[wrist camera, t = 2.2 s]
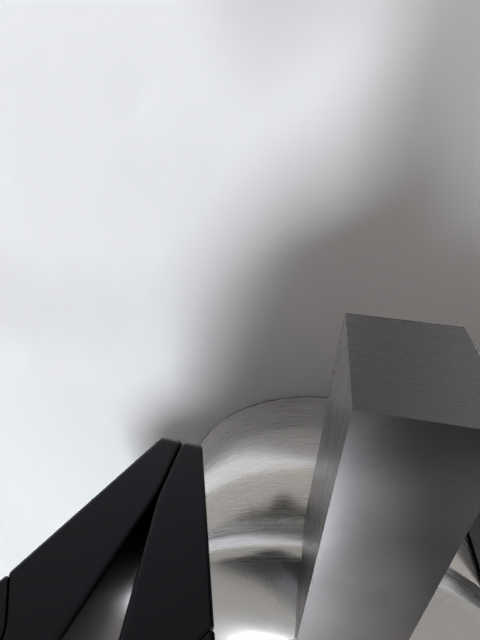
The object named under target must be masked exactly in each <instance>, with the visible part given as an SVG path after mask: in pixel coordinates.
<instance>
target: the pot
mask: <svg viewBox="0 0 480 640" xmlns="http://www.w3.org/2000/svg"><path fill="white" fill-rule="evenodd" d="M328 399H329V398H320V397H295V398H285V399H277V400H273V401H268V402H263V403H260V404H257V405H254V406H251V407H248V408H245V409H243V410H241V411H239V412H237V413H235V414H233V415H231V416H229V417H228V418H226V419H225V420H223V421H222V422H220V423H219V424H218V425H217V426H216V427H215V428H213V429H212V430H211V431H210V432H209V433H208V435H207V436H206V437H205V439H204V440H203V441H202V443H201V445H200V446H201V447H202V449H203V463H204V478H205V494H206V509H207V525H208V531H213V530H218V529H222V528H227V527H234V526H244V525H253V524H293V525H304V520H305V515H306V510H307V505H308V500H309V494H310V489H311V484H312V479H313V474H314V469H315V464H316V459H317V454H318V449H319V444H320V439H321V434H322V429H323V424H324V419H325V414H326V409H327V404H328ZM449 568H451V569H453V570H455V571H457V572H458V573H460V574H461V575H463V576H464V577H466V578H467V579H469V580H470V581H472V582H473V583H475V584H476V585H477V586H478V587H480V511H479V513H478V515H477V517H476V518H475V520H474V522H473V524H472V526H471V528H470V529H469V531H468V533H467V535H466V537H465V539H464V540H463V542H462V544H461V546H460V548H459V549H458V551H457V553H456V555H455V557H454V559H453V560H452V562H451V564H450V566H449Z"/></svg>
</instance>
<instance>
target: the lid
mask: <svg viewBox="0 0 480 640" xmlns="http://www.w3.org/2000/svg"><path fill="white" fill-rule="evenodd" d="M479 511H480V357H479V355H478V353H477V351H476V349H475V347H474V345H473V343H472V342H471V340H470V338H469V336H468V334H467V332H466V330H465V328H464V327H456V326H448V325H440V324H431V323H423V322H415V321H407V320H398V319H390V318H382V317H374V316H365V315H357V314H349V313H345V318H344V323H343V328H342V333H341V338H340V343H339V348H338V353H337V358H336V363H335V368H334V373H333V378H332V383H331V388H330V394H329V399H328V404H327V409H326V414H325V419H324V424H323V429H322V434H321V439H320V444H319V449H318V454H317V459H316V464H315V469H314V474H313V479H312V484H311V489H310V494H309V500H308V505H307V510H306V515H305V520H304V525H293V524H253V525H244V526H234V527H227V528H222V529H218V530H213V531H208V540H209V556H210V571H211V587H212V602H213V618H214V630H213V632H214V633H215V640H480V587H478V586H477V585H476V584H475V583H473V582H472V581H470V580H469V579H467V578H466V577H464V576H463V575H461V574H460V573H458V572H457V571H455V570H453V569H451V568H449V566H450V564H451V562H452V560H453V559H454V557H455V555H456V553H457V551H458V549H459V548H460V546H461V544H462V542H463V540H464V539H465V537H466V535H467V533H468V531H469V529H470V528H471V526H472V524H473V522H474V520H475V518H476V517H477V515H478V513H479Z"/></svg>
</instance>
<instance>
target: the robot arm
mask: <svg viewBox="0 0 480 640" xmlns="http://www.w3.org/2000/svg"><path fill="white" fill-rule="evenodd" d="M213 630H214V618H213V602H212V587H211V571H210V556H209V540H208V525H207V509H206V494H205V478H204V463H203V449H202V447H201V446H200V445H196V444H191V443H187V442H185V443H183V444H182V443H181V442H180V441H178V440H173V439H169V438H162V439H160V440H159V441H158V442H156V443H155V444H154V445H153V446H152V447H151V448H150V449H149V450H147V451H146V452H145V453H144V454H143V455H142V456H141V457H140V458H138V459H137V460H136V461H135V462H134V463H133V464H132V465H131V466H129V467H128V468H127V469H126V470H125V471H124V472H123V473H121V474H120V475H119V476H118V477H117V478H116V479H115V480H114V481H112V482H111V483H110V484H109V485H108V486H107V487H106V488H105V489H103V490H102V491H101V492H100V493H99V494H98V495H97V496H96V497H94V498H93V499H92V500H91V501H90V502H89V503H88V504H86V505H85V506H84V507H83V508H82V509H81V510H80V511H79V512H77V513H76V514H75V515H74V516H73V517H72V518H71V519H70V520H68V521H67V522H66V523H65V524H64V525H63V526H62V527H61V528H59V529H58V530H57V531H56V532H55V533H54V534H53V535H51V536H50V537H49V538H48V539H47V540H46V541H45V542H44V543H42V544H41V545H40V546H39V547H38V548H37V549H36V550H35V551H33V552H32V553H31V554H30V555H29V556H28V557H27V558H26V559H24V560H23V561H22V562H21V563H20V564H19V565H18V566H16V567H15V568H14V569H13V570H12V571H11V572H10V574H9V577H8V576H5V577H4V578H3V579H1V580H0V640H215V633H214V632H213Z"/></svg>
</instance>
